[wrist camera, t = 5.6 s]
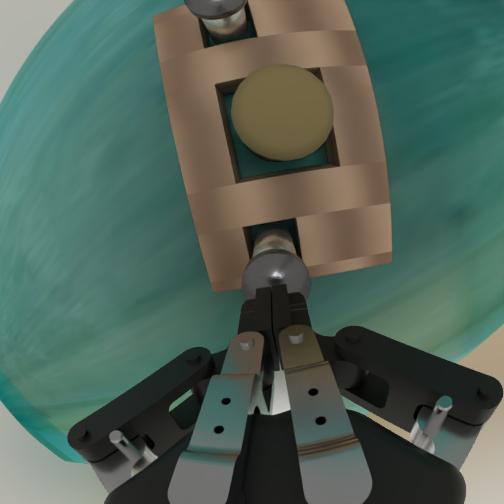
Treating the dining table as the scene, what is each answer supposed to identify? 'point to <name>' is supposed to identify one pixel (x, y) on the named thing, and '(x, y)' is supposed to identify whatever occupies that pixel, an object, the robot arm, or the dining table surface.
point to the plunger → (221, 18)
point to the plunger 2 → (275, 263)
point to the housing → (289, 181)
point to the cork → (282, 112)
